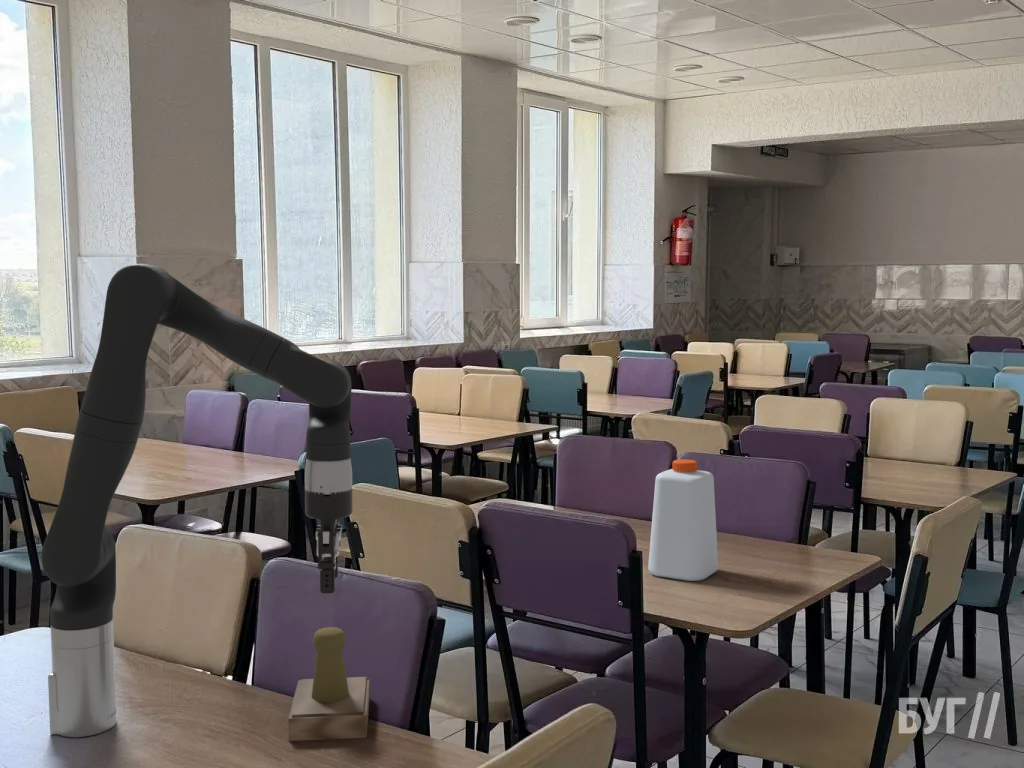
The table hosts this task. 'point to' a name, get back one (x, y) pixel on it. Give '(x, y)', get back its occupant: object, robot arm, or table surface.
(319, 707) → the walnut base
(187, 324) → the robot arm
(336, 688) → the cork
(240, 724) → the table surface
